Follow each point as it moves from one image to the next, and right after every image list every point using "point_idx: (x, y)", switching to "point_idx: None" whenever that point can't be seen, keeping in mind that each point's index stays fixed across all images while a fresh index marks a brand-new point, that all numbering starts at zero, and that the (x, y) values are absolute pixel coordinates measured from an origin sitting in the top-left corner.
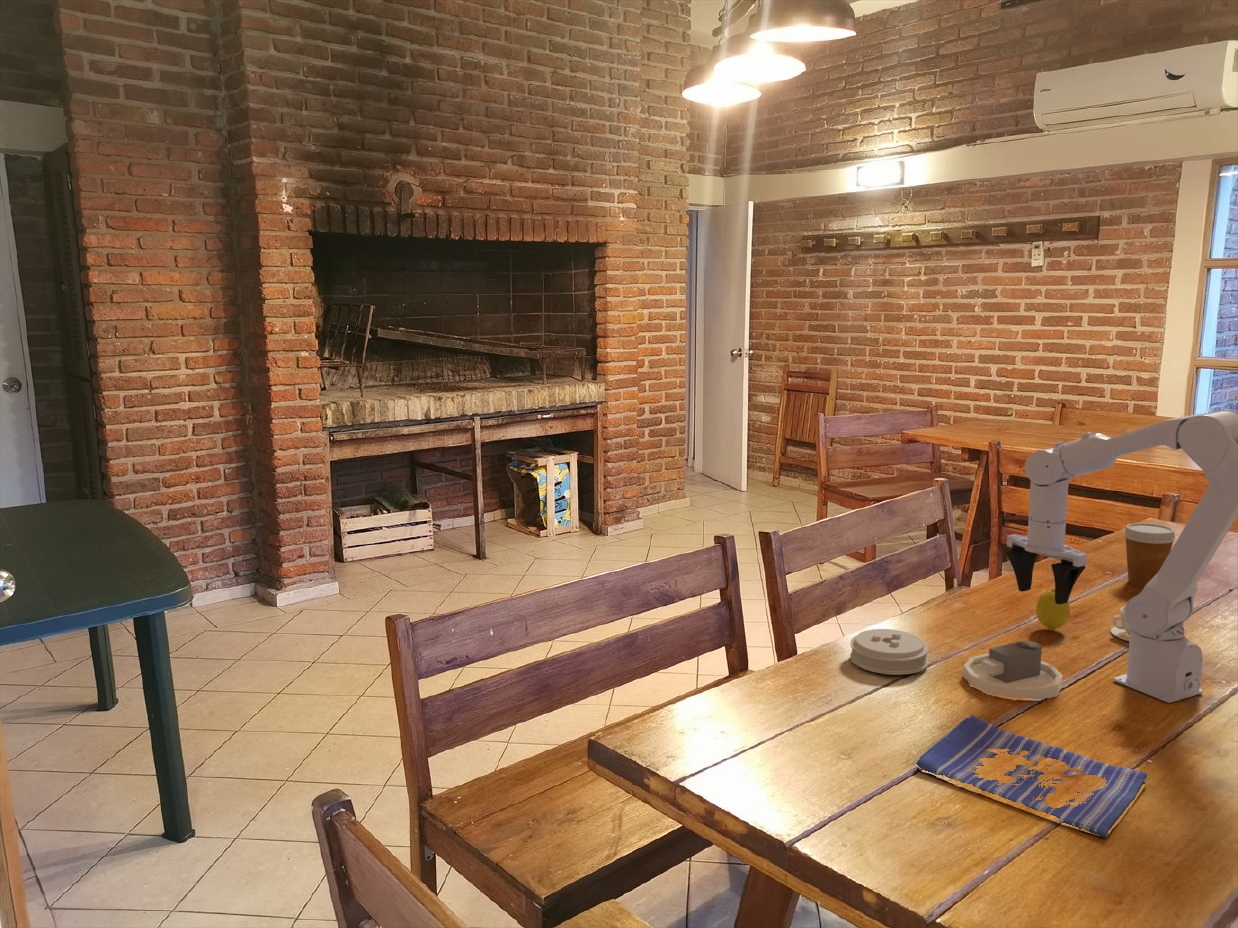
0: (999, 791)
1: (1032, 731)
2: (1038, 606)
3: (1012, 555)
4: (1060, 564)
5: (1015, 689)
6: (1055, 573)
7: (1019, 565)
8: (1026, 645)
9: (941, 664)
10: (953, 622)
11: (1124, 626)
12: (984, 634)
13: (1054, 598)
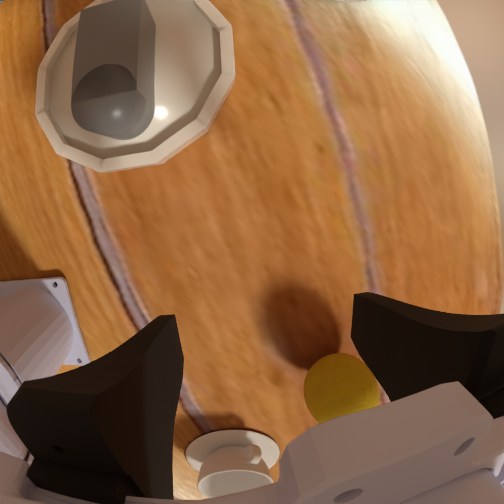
0: None
1: (9, 20)
2: (361, 368)
3: (497, 323)
4: (74, 448)
5: (63, 26)
6: (103, 379)
7: (429, 336)
8: (106, 90)
9: (278, 10)
10: (447, 212)
11: (243, 452)
12: (380, 220)
13: (338, 406)
